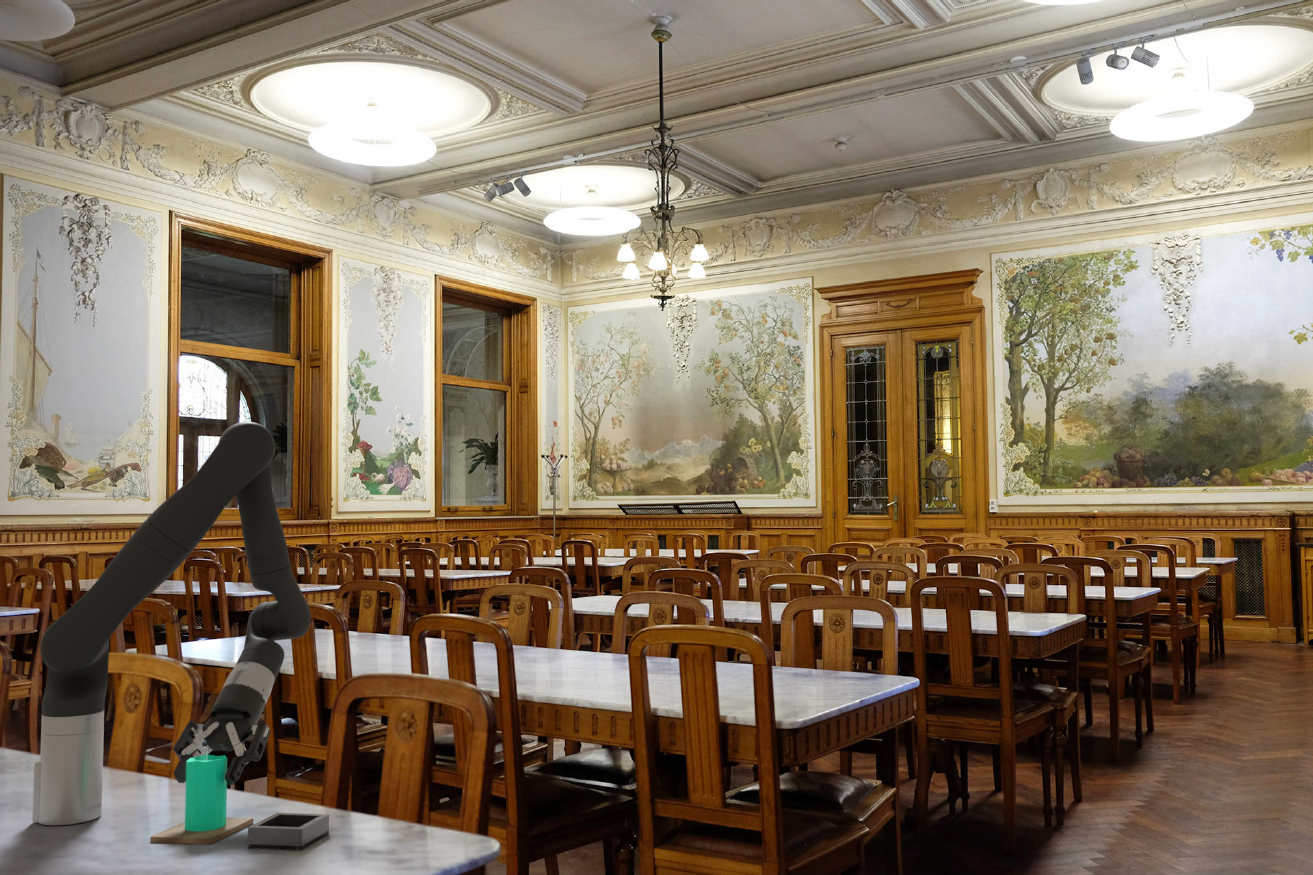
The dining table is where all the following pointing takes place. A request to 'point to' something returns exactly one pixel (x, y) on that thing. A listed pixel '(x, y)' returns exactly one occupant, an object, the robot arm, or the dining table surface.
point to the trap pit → (288, 831)
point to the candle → (205, 793)
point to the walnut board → (201, 832)
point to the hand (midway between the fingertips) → (203, 781)
